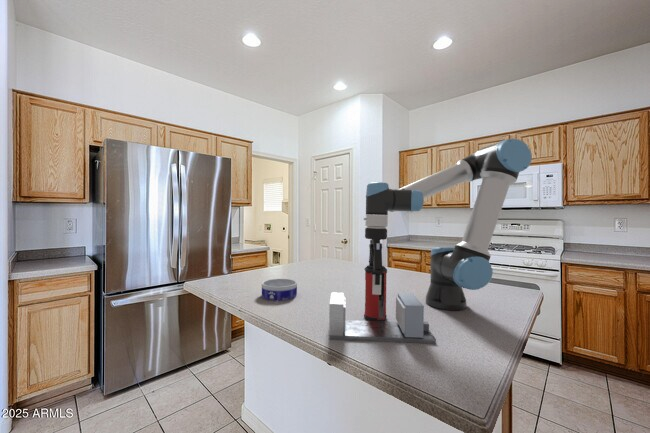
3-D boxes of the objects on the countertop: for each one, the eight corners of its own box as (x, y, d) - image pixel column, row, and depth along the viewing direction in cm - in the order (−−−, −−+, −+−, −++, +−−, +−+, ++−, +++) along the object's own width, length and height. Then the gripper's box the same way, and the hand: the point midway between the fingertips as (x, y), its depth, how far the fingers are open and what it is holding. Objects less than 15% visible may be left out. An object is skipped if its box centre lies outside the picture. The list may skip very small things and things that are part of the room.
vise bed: (424, 326, 92) (424, 322, 92) (436, 343, 80) (436, 339, 80) (331, 323, 94) (331, 319, 94) (329, 339, 82) (329, 335, 82)
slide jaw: (422, 321, 92) (422, 294, 92) (434, 338, 80) (434, 306, 80) (395, 320, 92) (395, 293, 92) (403, 336, 80) (403, 305, 80)
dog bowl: (301, 292, 130) (301, 279, 130) (289, 302, 115) (289, 287, 115) (270, 290, 134) (270, 277, 133) (255, 299, 119) (255, 285, 119)
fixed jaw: (345, 320, 93) (345, 292, 93) (345, 335, 81) (345, 304, 81) (331, 319, 94) (331, 292, 94) (329, 335, 82) (329, 303, 82)
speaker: (363, 313, 103) (363, 264, 103) (384, 314, 102) (385, 264, 102) (364, 322, 95) (365, 268, 95) (388, 322, 95) (388, 268, 94)
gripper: (362, 225, 111) (361, 279, 111) (368, 229, 86) (366, 298, 86) (382, 226, 110) (380, 280, 111) (393, 229, 86) (391, 300, 86)
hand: (374, 288), depth 99 cm, fingers open, 13 cm apart
